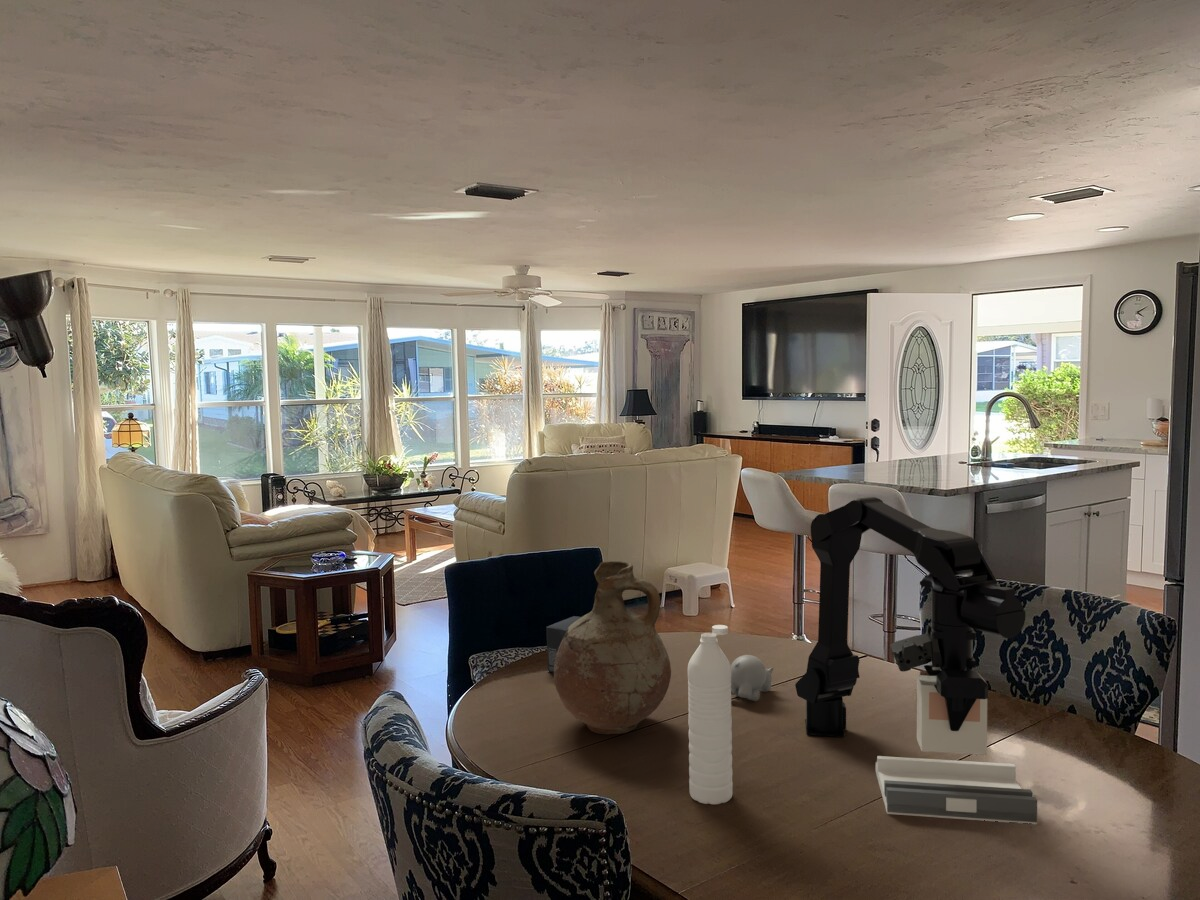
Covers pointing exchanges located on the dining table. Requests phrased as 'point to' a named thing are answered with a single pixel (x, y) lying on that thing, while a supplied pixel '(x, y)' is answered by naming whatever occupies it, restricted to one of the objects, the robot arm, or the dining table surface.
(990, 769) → the shelf
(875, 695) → the dining table surface
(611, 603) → the jug
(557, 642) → the small box
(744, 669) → the round bodied animal figurine
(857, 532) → the robot arm
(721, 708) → the water bottle
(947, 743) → the cream carton
